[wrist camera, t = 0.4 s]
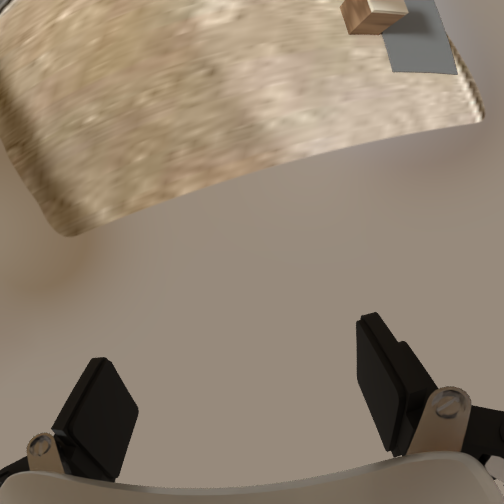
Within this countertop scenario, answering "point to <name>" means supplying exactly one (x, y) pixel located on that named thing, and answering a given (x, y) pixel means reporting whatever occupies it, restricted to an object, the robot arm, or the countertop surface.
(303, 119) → the countertop surface
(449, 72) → the grey mat
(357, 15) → the walnut block
